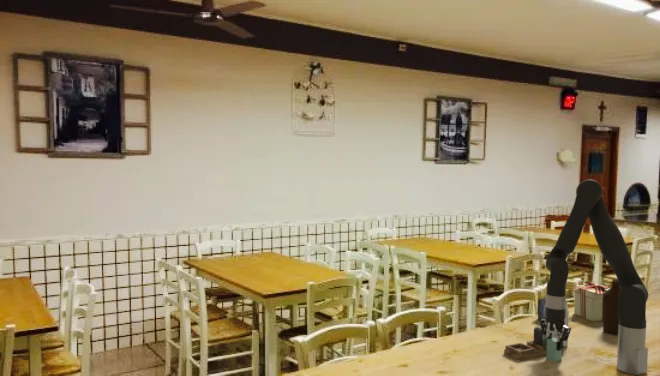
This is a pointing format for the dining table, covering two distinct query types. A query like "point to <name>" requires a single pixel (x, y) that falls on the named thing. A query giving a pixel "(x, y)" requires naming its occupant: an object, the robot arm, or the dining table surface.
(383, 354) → the dining table surface
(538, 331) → the walnut rail
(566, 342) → the milk carton
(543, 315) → the small box
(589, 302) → the gift box
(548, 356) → the teal rectangular block
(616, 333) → the olive oil
